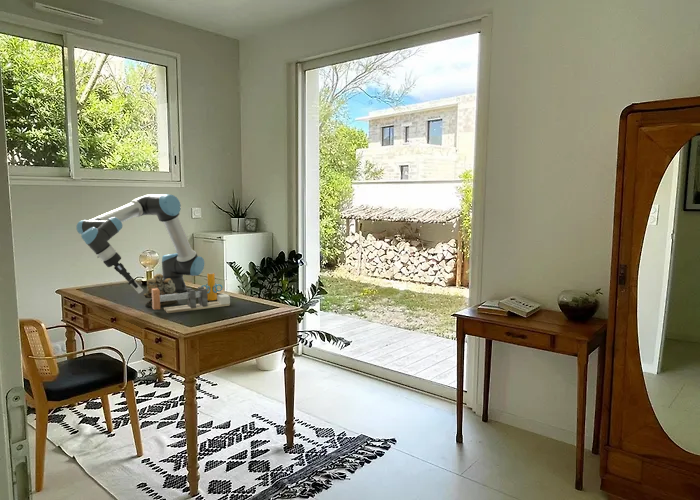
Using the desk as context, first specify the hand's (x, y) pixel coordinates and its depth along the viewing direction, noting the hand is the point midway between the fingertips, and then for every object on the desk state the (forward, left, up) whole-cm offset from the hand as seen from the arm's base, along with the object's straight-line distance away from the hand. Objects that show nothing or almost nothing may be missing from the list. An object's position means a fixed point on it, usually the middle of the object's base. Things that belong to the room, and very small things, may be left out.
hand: (138, 289), depth 239 cm
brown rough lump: (-15, +13, -13) cm, 24 cm away
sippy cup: (-13, +40, -13) cm, 44 cm away
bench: (+2, +27, -13) cm, 30 cm away
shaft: (+2, +18, -10) cm, 21 cm away
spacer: (+3, +42, -8) cm, 43 cm away
